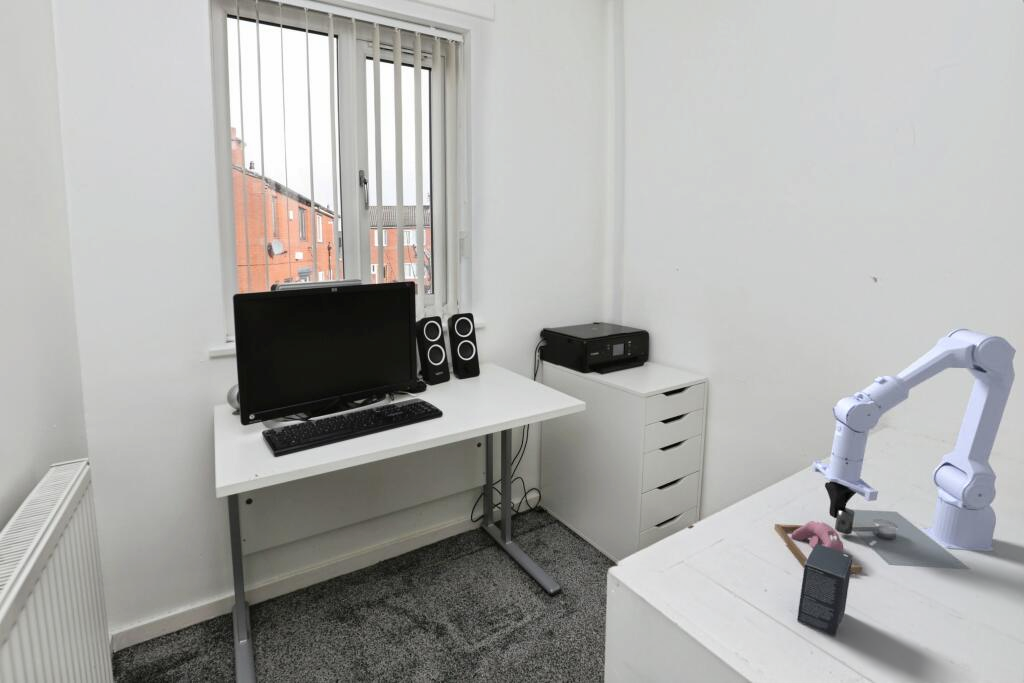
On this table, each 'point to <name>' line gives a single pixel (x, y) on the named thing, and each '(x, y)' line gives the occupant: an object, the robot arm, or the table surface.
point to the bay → (795, 550)
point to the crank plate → (905, 543)
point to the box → (824, 589)
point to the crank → (864, 525)
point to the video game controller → (818, 535)
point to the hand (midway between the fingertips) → (836, 516)
